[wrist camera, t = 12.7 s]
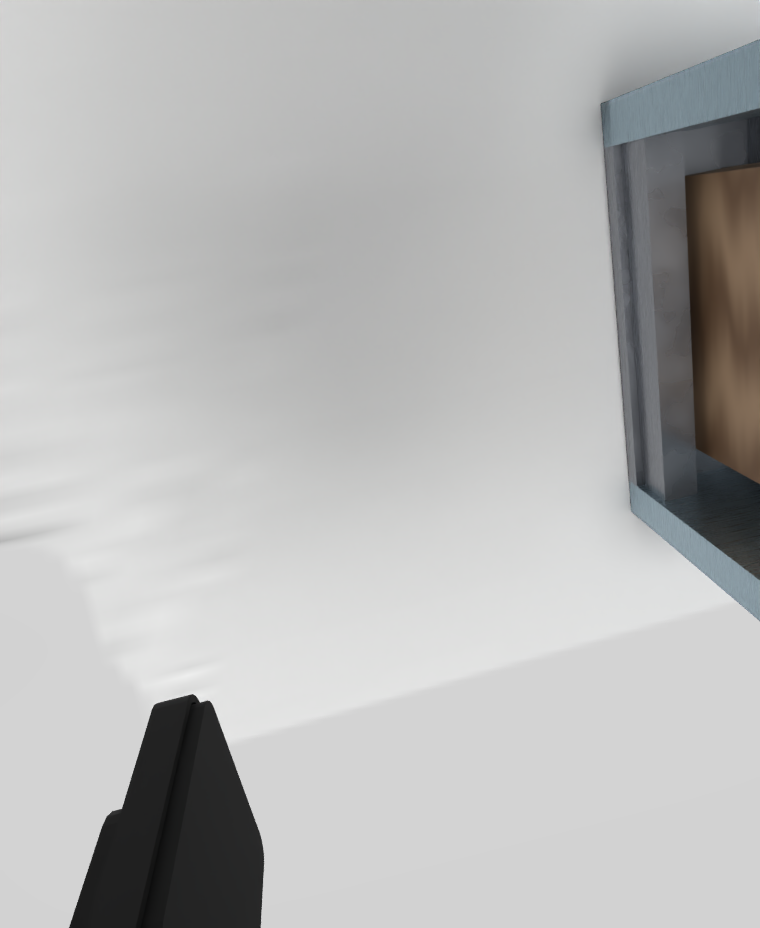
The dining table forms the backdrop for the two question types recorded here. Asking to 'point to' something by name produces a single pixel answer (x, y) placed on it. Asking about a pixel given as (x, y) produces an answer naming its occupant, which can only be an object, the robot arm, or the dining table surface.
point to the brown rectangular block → (726, 313)
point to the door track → (678, 307)
